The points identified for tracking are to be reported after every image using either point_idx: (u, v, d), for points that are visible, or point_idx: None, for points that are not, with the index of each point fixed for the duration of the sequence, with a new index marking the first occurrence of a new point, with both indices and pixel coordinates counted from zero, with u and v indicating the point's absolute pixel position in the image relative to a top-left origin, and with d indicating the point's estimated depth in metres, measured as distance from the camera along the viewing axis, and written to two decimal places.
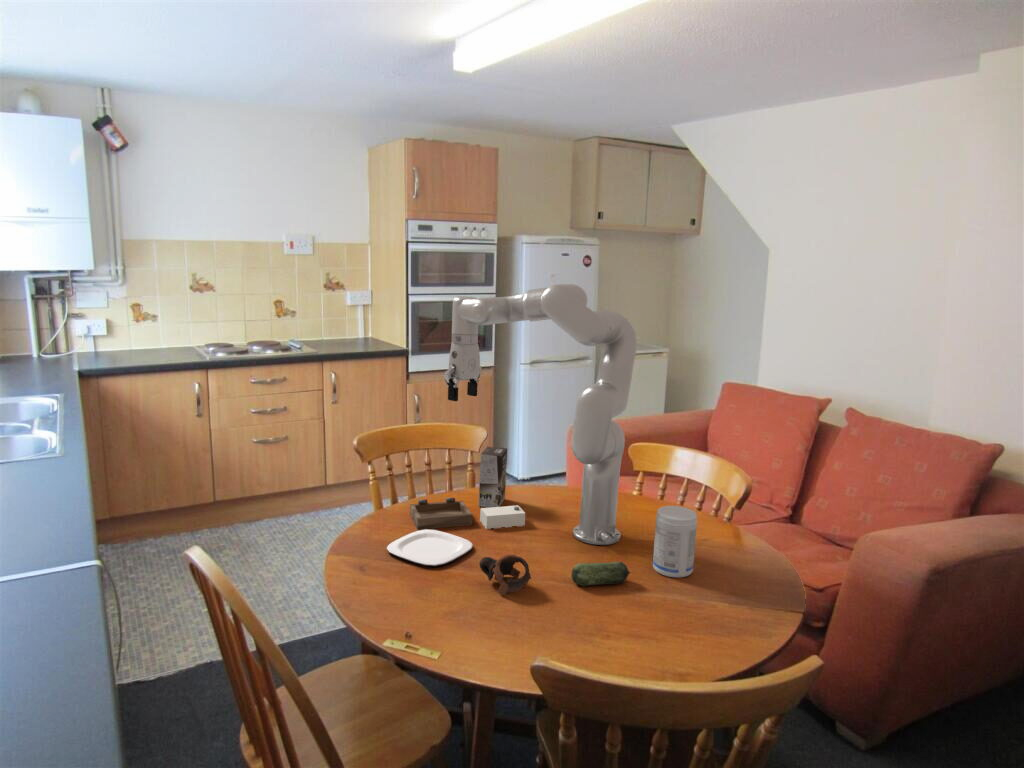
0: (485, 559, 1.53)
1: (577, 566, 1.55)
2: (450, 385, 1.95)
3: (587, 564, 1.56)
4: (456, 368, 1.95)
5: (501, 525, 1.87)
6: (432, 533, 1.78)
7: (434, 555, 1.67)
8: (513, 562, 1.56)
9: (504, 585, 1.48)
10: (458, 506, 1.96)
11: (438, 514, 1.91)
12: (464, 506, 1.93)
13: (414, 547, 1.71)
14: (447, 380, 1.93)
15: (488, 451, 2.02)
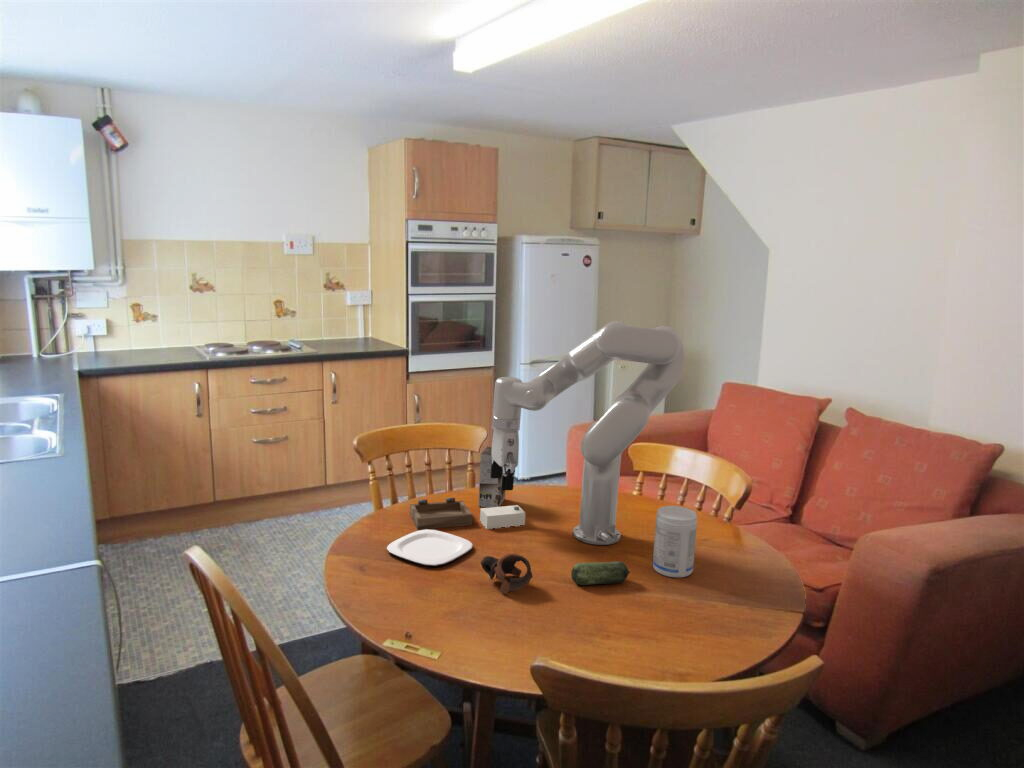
0: (487, 558, 1.54)
1: (577, 565, 1.55)
2: (510, 475, 1.81)
3: (587, 563, 1.56)
4: (513, 456, 1.82)
5: (501, 525, 1.87)
6: (432, 533, 1.78)
7: (434, 555, 1.67)
8: (514, 561, 1.57)
9: (506, 584, 1.49)
10: (458, 506, 1.96)
11: (438, 514, 1.91)
12: (464, 506, 1.93)
13: (414, 547, 1.71)
14: (512, 471, 1.80)
15: (488, 451, 2.02)
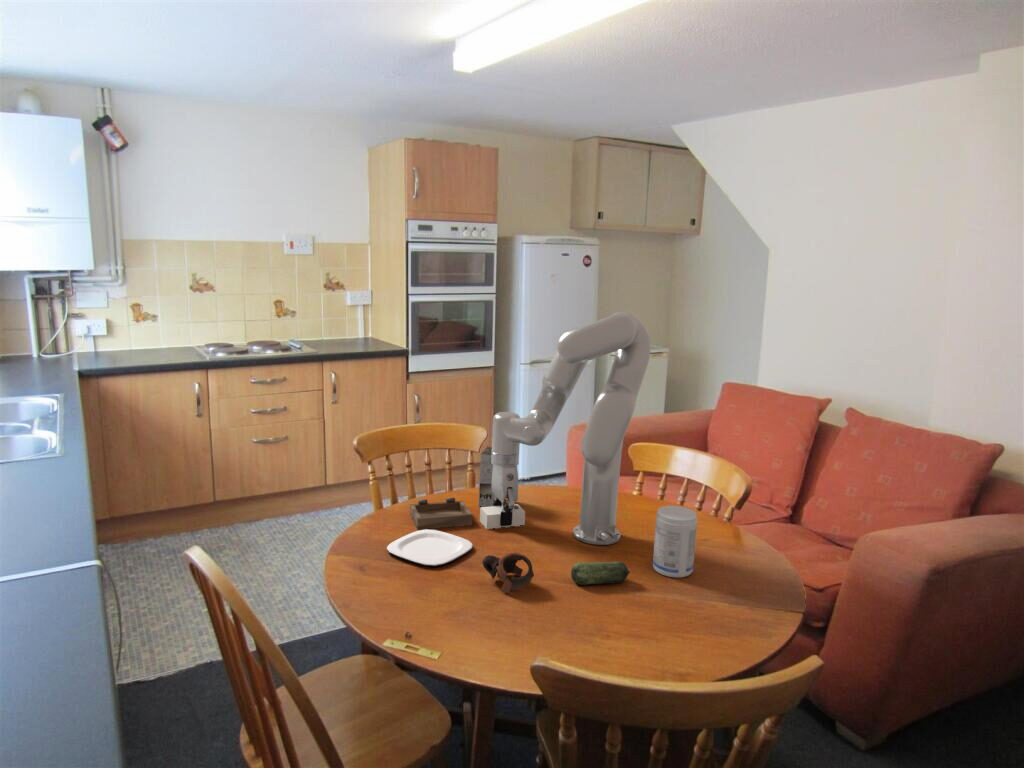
0: (488, 557, 1.54)
1: (576, 565, 1.56)
2: (508, 511, 1.84)
3: (587, 563, 1.56)
4: (513, 490, 1.84)
5: None
6: (432, 533, 1.78)
7: (434, 555, 1.67)
8: (516, 560, 1.57)
9: (508, 583, 1.49)
10: (458, 506, 1.96)
11: (438, 514, 1.91)
12: (464, 506, 1.93)
13: (414, 547, 1.71)
14: None
15: (488, 451, 2.02)
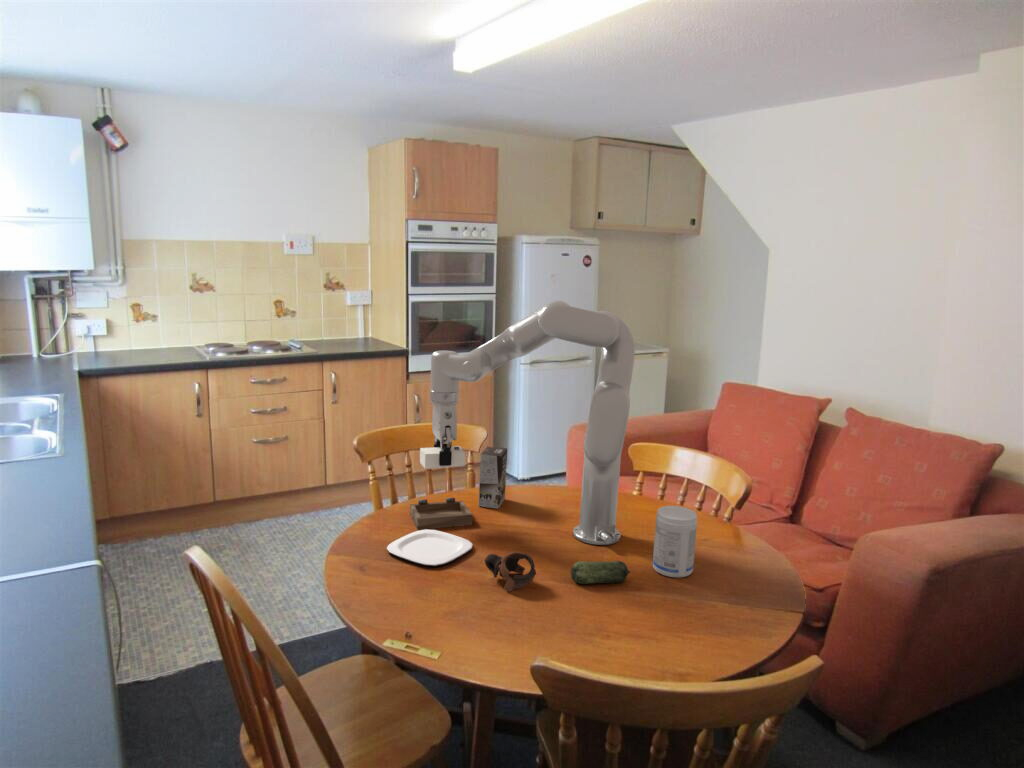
0: (491, 556, 1.55)
1: (576, 564, 1.56)
2: (447, 450, 1.82)
3: (586, 562, 1.57)
4: (451, 429, 1.81)
5: None
6: (432, 533, 1.78)
7: (434, 555, 1.67)
8: (518, 559, 1.58)
9: (510, 581, 1.50)
10: (458, 506, 1.96)
11: (438, 514, 1.91)
12: (464, 506, 1.93)
13: (414, 547, 1.71)
14: (448, 445, 1.80)
15: (488, 451, 2.02)
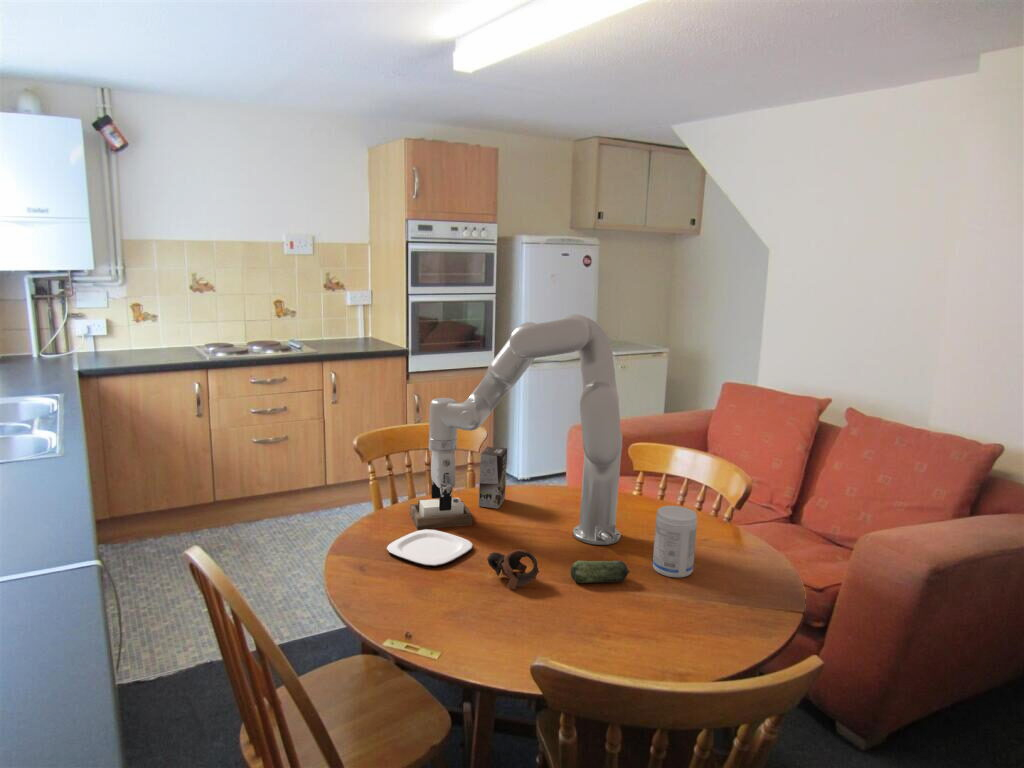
0: (493, 554, 1.56)
1: (576, 563, 1.57)
2: (447, 495, 1.83)
3: (586, 562, 1.57)
4: (450, 476, 1.83)
5: None
6: (432, 533, 1.78)
7: (434, 555, 1.67)
8: (520, 557, 1.59)
9: (514, 579, 1.51)
10: None
11: None
12: (464, 506, 1.93)
13: (414, 547, 1.71)
14: (448, 491, 1.81)
15: (488, 451, 2.02)
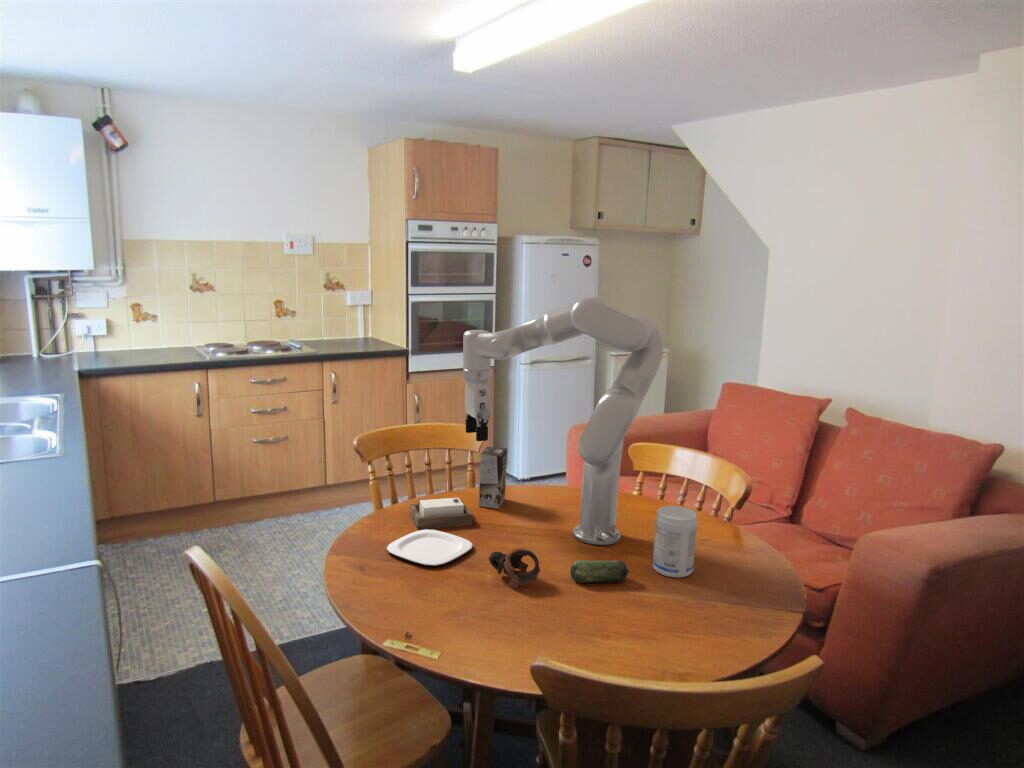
0: (495, 554, 1.56)
1: (576, 563, 1.57)
2: (484, 425, 1.84)
3: (586, 561, 1.57)
4: (485, 406, 1.85)
5: None
6: (432, 533, 1.78)
7: (434, 555, 1.67)
8: (521, 556, 1.60)
9: (515, 578, 1.52)
10: None
11: None
12: (464, 506, 1.93)
13: (414, 547, 1.71)
14: (485, 420, 1.82)
15: (488, 451, 2.02)
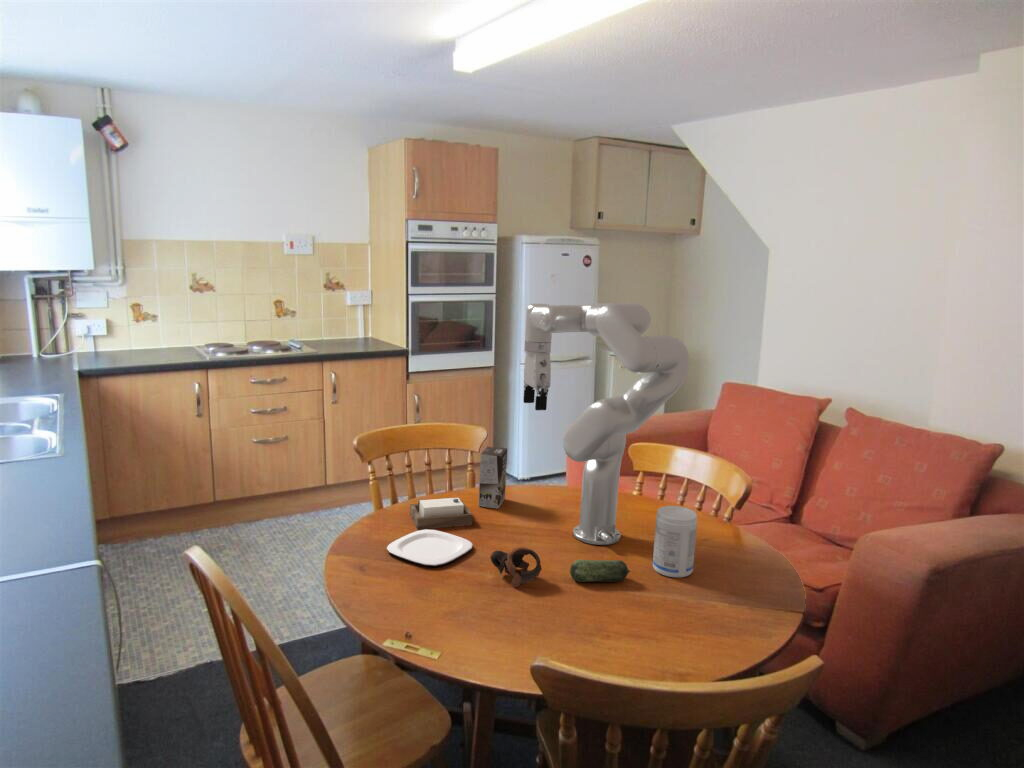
0: (496, 553, 1.57)
1: (575, 562, 1.57)
2: (543, 395, 1.92)
3: (586, 561, 1.57)
4: (546, 377, 1.93)
5: None
6: (432, 533, 1.78)
7: (434, 555, 1.67)
8: (523, 555, 1.60)
9: (517, 577, 1.52)
10: None
11: None
12: (464, 506, 1.93)
13: (414, 547, 1.71)
14: (545, 390, 1.90)
15: (488, 451, 2.02)
